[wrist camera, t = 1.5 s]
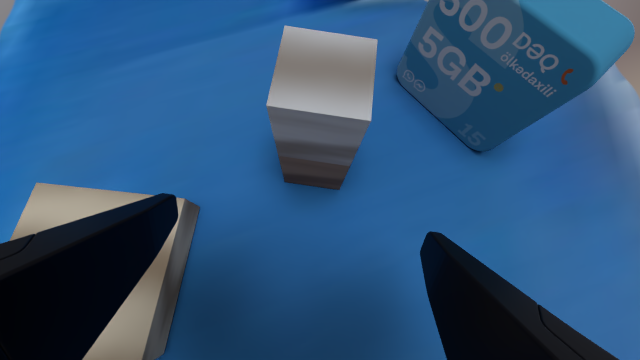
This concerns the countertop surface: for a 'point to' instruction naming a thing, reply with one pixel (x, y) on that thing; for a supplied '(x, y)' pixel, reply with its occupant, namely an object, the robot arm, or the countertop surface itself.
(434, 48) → the data package
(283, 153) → the gray square block
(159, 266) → the beige square block
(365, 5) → the countertop surface
